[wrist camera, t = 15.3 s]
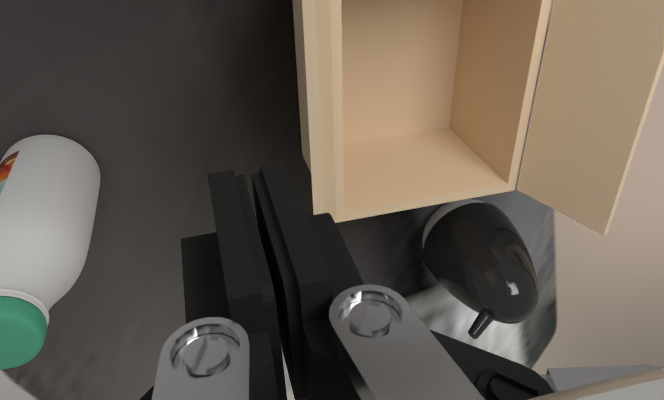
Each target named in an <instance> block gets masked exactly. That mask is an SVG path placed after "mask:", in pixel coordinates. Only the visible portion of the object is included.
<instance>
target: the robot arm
mask: <svg viewBox="0 0 664 400" xmlns="http://www.w3.org/2000/svg"><path fill="white" fill-rule="evenodd" d="M251 178H252V186H253V194H254V202H255V210H256V218H257V223H256V219H255V215H254V212H253V208H252V204H251V200H250V197H249V193H248V189H247V185H246V182H245V178H244V175H241V176H234V173H233V170H230V171H224V172H217V173H211V174H208V179H209V185H210V191H211V198H212V204H213V211H214V217H215V223H216V230H217V232H215V233H210V234H204V235H198V236H193V237H187V238H182V239H181V248H182V264H183V280H184V296H185V313H186V324H185V325H183V326H182V327H180V328H179V329H178V330H176V331H175V332H174V333H172V334H171V336H170V337H169V338H168V339H167V341H166V342H165V343H164V346H163V348H162V351H161V353H160V358H159V363H158V369H157V374H156V379H155V385H154V386H153V387H152V388H151V389H150V390H149V391H148V392H147V393H146V394H145V395H144V396H143V397H142V398H141V399H140V400H287V395H286V386H285V377H284V369H283V360H282V351H281V346H282V350H283V354H284V358H285V362H286V366H287V370H288V374H289V378H290V382H291V386H292V390H293V394H294V398H295V400H664V367H661V366H651V365H632V366H631V365H630V366H603V367H575V368H548V370H547V373H546V375H539V374H537V373H536V372H535V371H533V370H531V369H529V368H527V367H525V366H523V365H521V364H519V363H516V362H513V361H511V360H508V359H505V358H503V357H500V356H497V355H495V354H492V353H490V352H487V351H484V350H482V349H479V348H476V347H474V346H471V345H469V344H466V343H463V342H461V341H458V340H455V339H453V338H450V337H448V336H445V335H442V334H440V333H437V332H434V331H432V330H429V329H428V327H427V326H426V325H425V324H424V322H423V321H422V320H421V319H420V317H419V316H418V315H417V314H416V312H415V311H414V310H413V309H412V307H411V306H410V305H409V304H408V302H407V301H406V300H405V299H404V298H403V297H402V296H401V295H400V294H399V293H397V292H395V291H393V290H391V289H389V288H387V287H383V286H378V285H364V283H363V281H362V279H361V276H360V274H359V272H358V270H357V268H356V266H355V264H354V262H353V260H352V258H351V256H350V253H349V251H348V249H347V247H346V245H345V243H344V241H343V239H342V237H341V235H340V232H339V230H338V228H337V226H336V224H335V222H334V220H333V218H332V216H331V214H330V213H322V214H317V215H311V216H306V213H305V211H304V209H303V206H302V204H301V201H300V199H299V196H298V194H297V191H296V189H295V186H294V184H293V182H292V179H291V177H290V174H289V172H288V169H287V167H286V164H285V163H284V162H282V163H275V164H269V165H262V166H260V173H253V174H251ZM257 226H258V227H257Z"/></svg>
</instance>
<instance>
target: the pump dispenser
mask: <svg viewBox="0 0 664 400" xmlns="http://www.w3.org/2000/svg"><path fill="white" fill-rule="evenodd" d="M423 256H424V261H425V263H426V265H427V267H428V268H429V270H430V271H431V273H432V274H433V275H434V276H435V278H436V279H437V280H438V281H439V282H440V283H441V284H442V285H443V286H444V287H445V288H446V289H447V290H448V291H449V292H450V293H451V294H452V295H453V296H454V297H456V298H457V299H458V300H459V301H461V302H462V303H463V304H465V305H466V306H468V307H469V308H471V309H472V310H474V311H476V312H478V313H479V314H478V316H477V318H476V319H475V321H474V323H473V324H472V326H471V328H470V329H469V331H468V334H469V335H470V336H471V337H472V338H473V339H477V338H478V337H479V336H480V335H481V334H482V332H483V331H484V330H485V329H486V328H487V327H488V325H489V324H490V323H491V322H492V321H493V320H494V321H498V322H502V323H506V324H514V323H519V322H521V321H523V320H525V319H527V318H528V317H529V316H530V315H531V314H532V313H533V312H534V310H535V309H536V307H537V304H538V299H539V289H538V282H537V277H536V273H535V269H534V266H533V263H532V260H531V257H530V255H529V252H528V250H527V248H526V246H525V244H524V242H523V240H522V238H521V236H520V235H519V233H518V231H517V230H516V228H515V227H514V225H513V224H512V222H511V221H510V220H509V218H508V217H507V216H506V215H505V214H504V213H503V212H502V211H501V210H500V209H499V208H498V207H496V206H494V205H492V204H489V203H485V202H482V201H479V200H475V199H464V200H458V201H453V202H449V203H447V204H445V205H443V206H442V207H440V208H439V209H438V210H437V211H436V212H435V213H434V214H433V215H432V216H431V217H430V219H429V220H428V222H427V224H426V226H425V229H424V233H423Z"/></svg>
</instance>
